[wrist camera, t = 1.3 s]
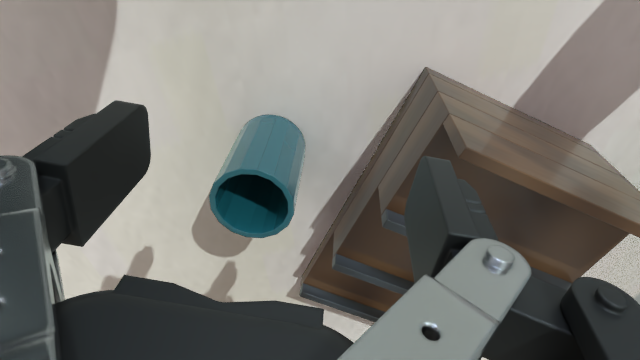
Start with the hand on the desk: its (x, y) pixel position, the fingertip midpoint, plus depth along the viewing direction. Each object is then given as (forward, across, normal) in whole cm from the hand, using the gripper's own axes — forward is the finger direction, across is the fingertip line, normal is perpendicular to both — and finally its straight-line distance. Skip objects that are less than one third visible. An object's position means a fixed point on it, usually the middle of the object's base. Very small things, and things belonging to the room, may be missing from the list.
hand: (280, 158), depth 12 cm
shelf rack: (+20, -12, +15) cm, 28 cm away
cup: (+20, +3, +10) cm, 22 cm away
